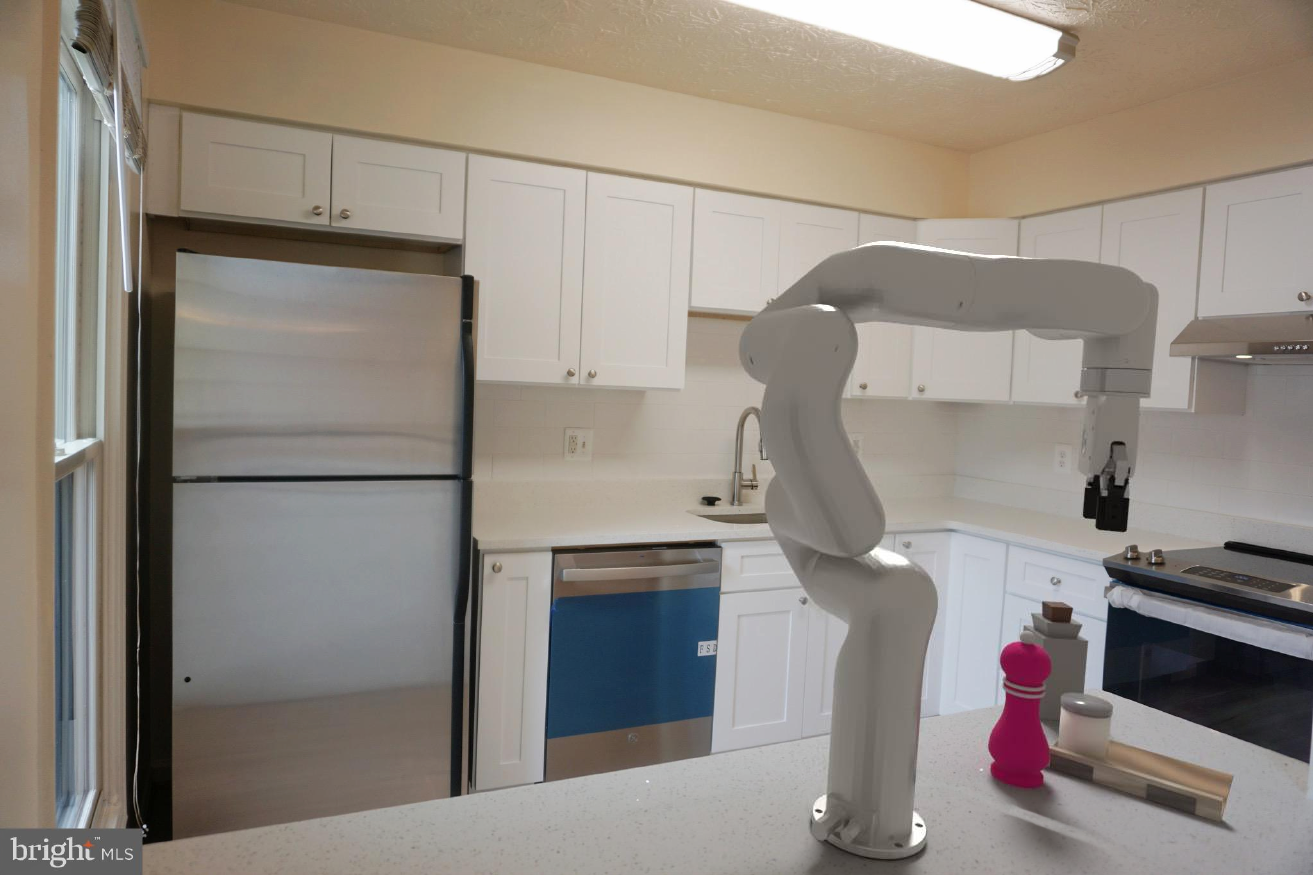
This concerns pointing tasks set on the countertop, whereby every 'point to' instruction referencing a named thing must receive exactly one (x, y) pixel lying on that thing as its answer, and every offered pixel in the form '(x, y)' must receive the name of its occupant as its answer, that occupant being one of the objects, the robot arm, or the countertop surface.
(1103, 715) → the jar
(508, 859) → the countertop surface
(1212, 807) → the shelf
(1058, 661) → the perfume bottle
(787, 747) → the countertop surface
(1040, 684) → the pepper mill
